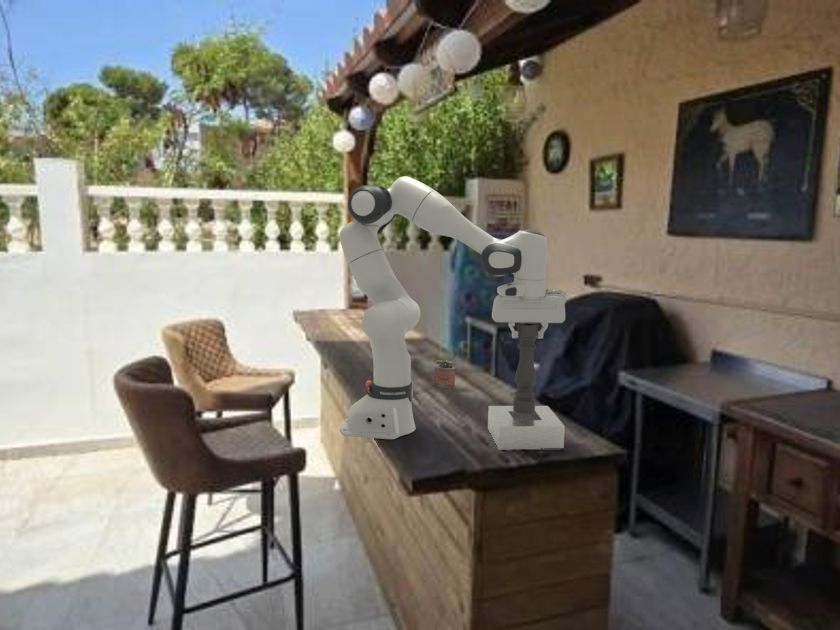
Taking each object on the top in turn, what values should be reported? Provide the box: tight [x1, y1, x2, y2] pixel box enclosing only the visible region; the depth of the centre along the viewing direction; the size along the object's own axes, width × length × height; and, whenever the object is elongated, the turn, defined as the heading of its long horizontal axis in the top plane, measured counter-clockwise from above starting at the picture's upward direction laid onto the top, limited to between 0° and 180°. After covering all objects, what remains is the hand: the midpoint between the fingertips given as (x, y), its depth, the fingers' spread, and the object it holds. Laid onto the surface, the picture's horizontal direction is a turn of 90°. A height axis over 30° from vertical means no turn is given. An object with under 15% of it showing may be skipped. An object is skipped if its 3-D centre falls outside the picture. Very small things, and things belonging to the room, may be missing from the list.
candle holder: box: [512, 322, 539, 414], centre depth 169 cm, size 6×6×25 cm
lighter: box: [433, 359, 456, 389], centre depth 225 cm, size 8×3×10 cm, turn 74°
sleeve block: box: [487, 405, 566, 450], centre depth 172 cm, size 18×18×7 cm
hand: (527, 338), depth 168 cm, fingers closed on candle holder, 6 cm apart
